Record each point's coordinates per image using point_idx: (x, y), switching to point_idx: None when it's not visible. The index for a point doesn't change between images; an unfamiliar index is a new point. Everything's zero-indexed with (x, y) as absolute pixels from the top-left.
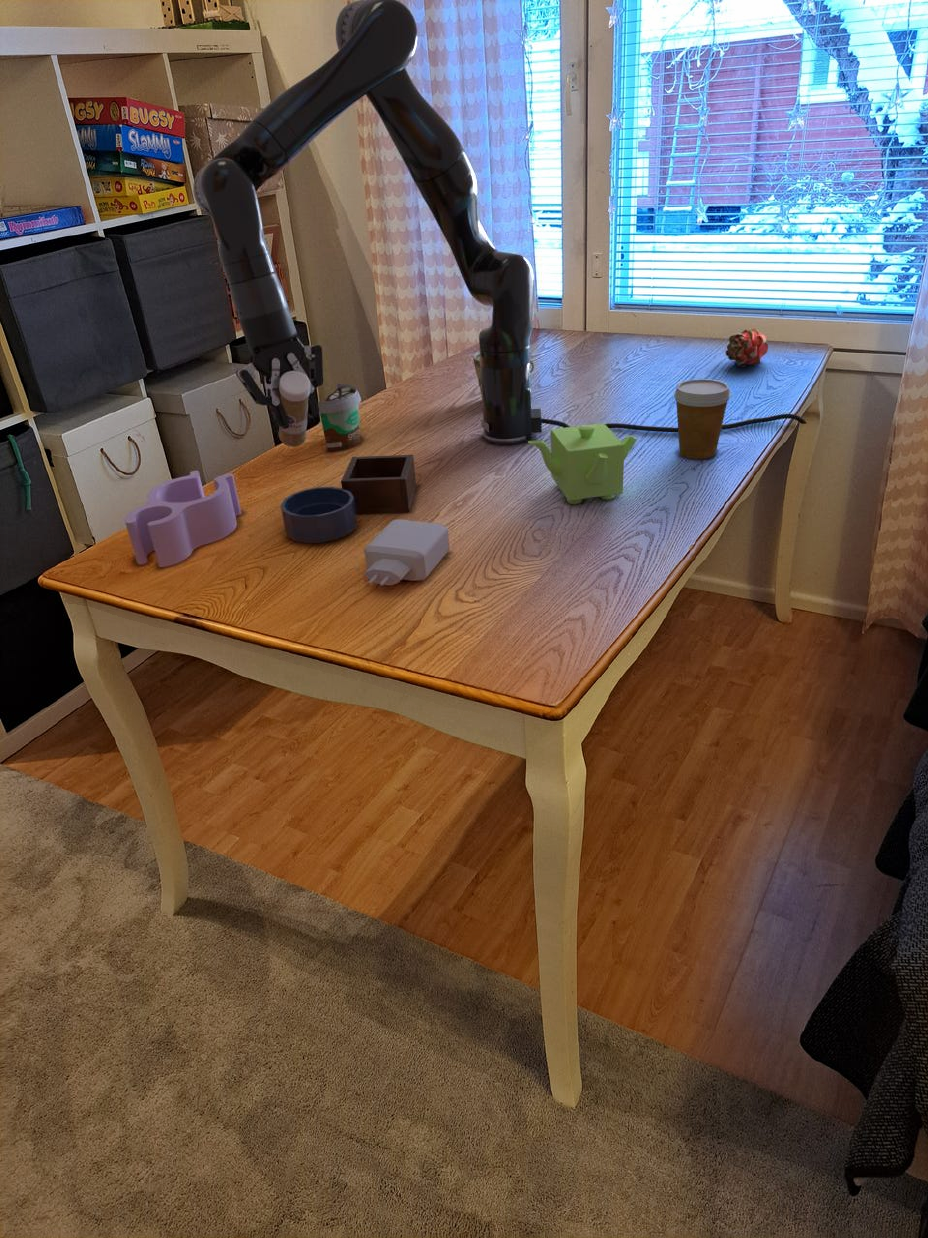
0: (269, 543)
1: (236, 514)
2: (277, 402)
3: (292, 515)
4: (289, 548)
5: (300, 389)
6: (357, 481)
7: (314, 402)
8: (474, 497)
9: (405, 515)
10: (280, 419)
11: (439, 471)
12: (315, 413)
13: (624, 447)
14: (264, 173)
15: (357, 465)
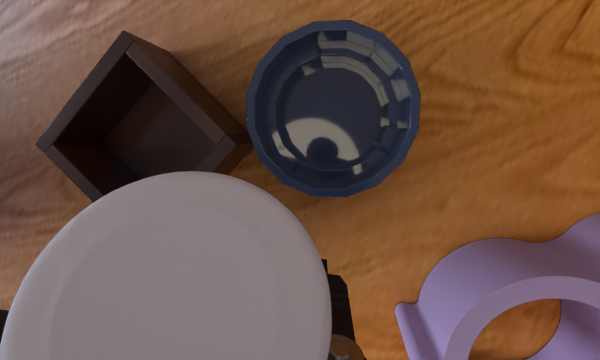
0: (436, 146)
1: (409, 305)
2: (332, 342)
3: (418, 87)
4: (423, 95)
5: (198, 200)
6: (209, 115)
7: None
8: (45, 9)
9: (182, 45)
10: (331, 293)
11: (27, 165)
12: None
13: None
14: None
15: None
